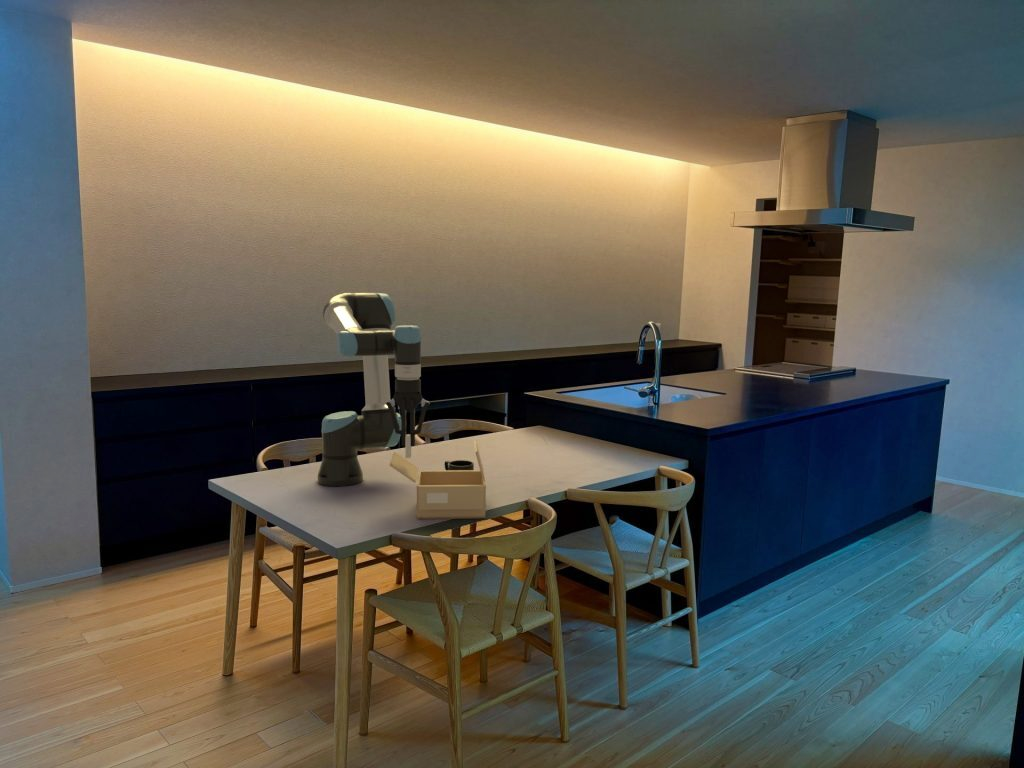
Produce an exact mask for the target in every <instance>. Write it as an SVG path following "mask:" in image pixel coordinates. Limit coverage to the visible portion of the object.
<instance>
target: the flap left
mask: <svg viewBox="0 0 1024 768" xmlns="http://www.w3.org/2000/svg"><path fill="white" fill-rule="evenodd" d="M389 466H390V467H391V468H392V469H393V470H396V471H397V472H399V473H400V474H401V475H403V476H404V477H406V478H407V479H409V481H412V482H413V483H417V480H418V475H419V467H418V466H416V465H415V464H414V463H412V462H410V461H409V460H408V459H407V458H406V457H403V456H402V455H400V454H399V453H397V452H396V451H393V453H392V455H391V460H390V462H389Z"/></svg>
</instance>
